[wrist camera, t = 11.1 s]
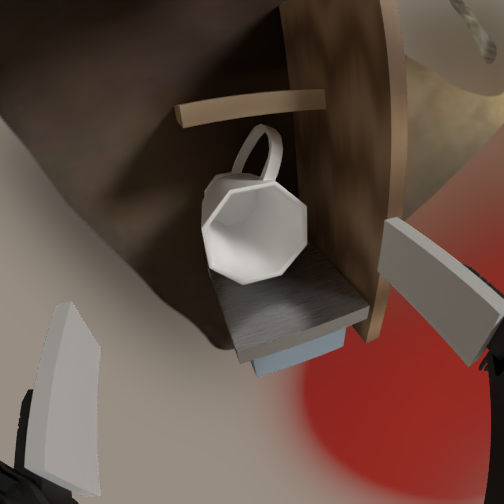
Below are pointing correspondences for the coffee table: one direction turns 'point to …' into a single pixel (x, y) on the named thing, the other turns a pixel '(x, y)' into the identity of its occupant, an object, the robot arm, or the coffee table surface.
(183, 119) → the divider
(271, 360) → the shelved book
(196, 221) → the coffee table surface
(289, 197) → the cup
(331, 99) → the shelf wall
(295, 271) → the bookend
